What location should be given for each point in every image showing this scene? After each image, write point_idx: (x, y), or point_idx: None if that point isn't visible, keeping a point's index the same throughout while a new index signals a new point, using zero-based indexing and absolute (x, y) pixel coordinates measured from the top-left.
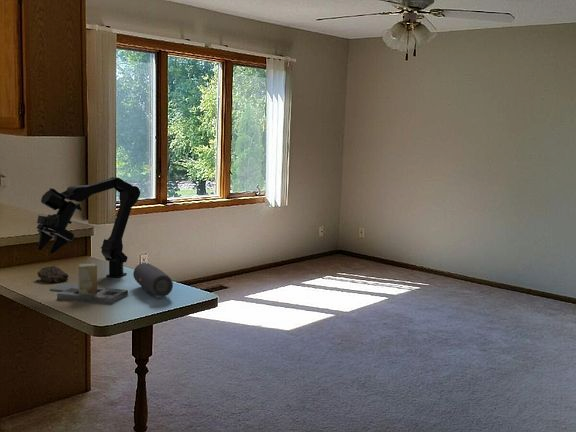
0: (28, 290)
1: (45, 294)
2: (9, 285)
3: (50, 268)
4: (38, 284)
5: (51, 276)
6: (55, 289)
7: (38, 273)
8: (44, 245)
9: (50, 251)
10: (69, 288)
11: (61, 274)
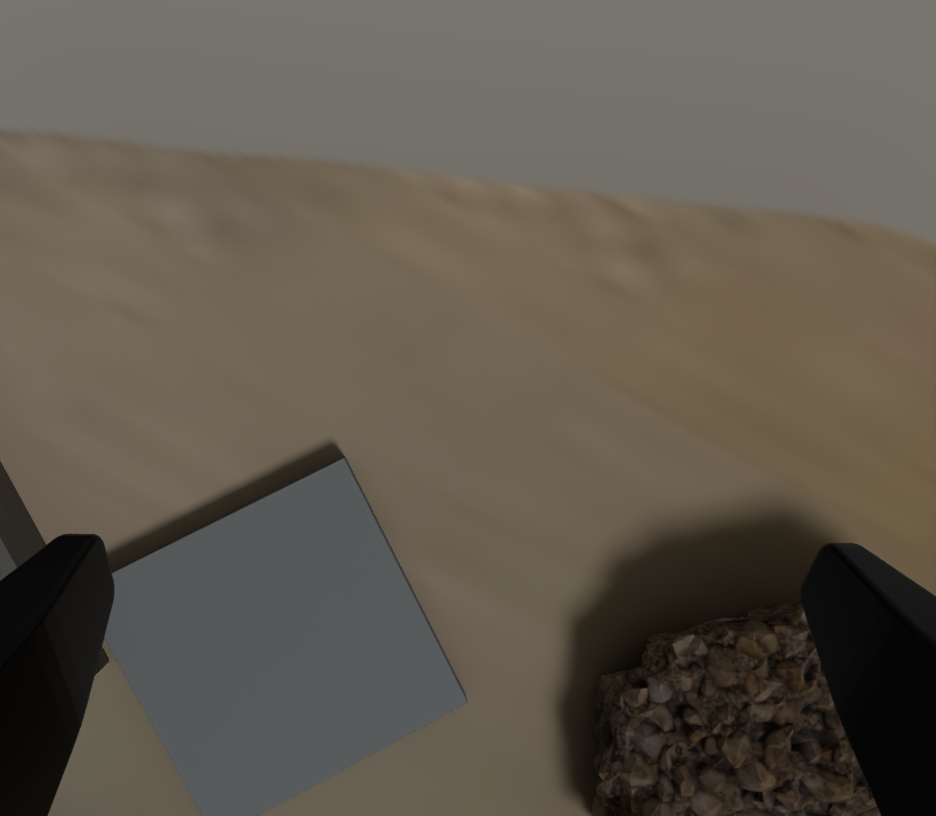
0: (525, 293)
1: (223, 334)
2: (867, 261)
3: None
4: (682, 500)
5: (671, 671)
6: (273, 492)
7: None
8: (883, 795)
9: (32, 558)
10: (3, 558)
11: (662, 807)
